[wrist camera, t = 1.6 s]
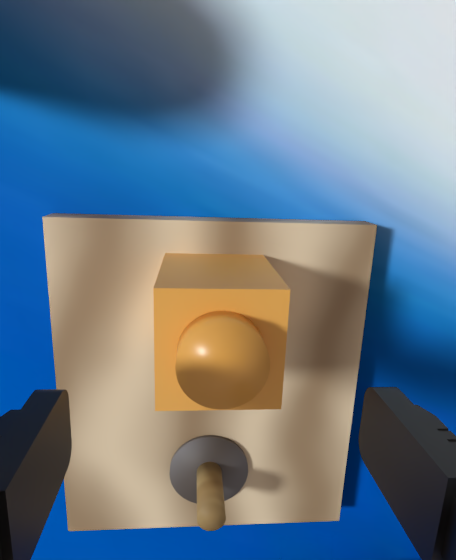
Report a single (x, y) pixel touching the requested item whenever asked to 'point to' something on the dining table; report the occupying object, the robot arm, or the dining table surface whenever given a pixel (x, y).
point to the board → (203, 423)
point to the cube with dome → (219, 333)
